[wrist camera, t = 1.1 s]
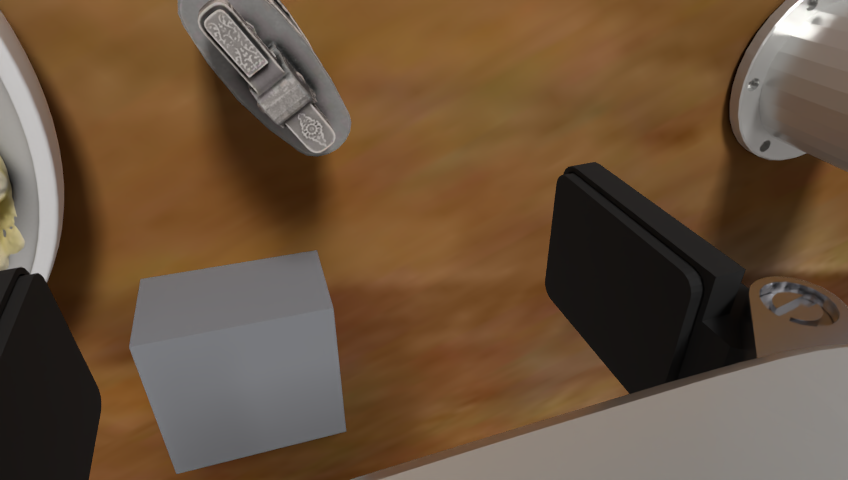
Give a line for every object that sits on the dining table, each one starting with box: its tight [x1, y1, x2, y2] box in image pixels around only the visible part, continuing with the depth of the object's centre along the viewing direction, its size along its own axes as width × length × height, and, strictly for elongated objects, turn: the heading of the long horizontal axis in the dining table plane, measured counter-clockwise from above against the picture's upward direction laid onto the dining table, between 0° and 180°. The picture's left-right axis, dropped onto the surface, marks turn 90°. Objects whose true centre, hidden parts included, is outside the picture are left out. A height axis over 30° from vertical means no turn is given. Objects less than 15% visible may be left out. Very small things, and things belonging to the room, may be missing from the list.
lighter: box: [178, 0, 351, 156], centre depth 23 cm, size 8×3×10 cm, turn 34°
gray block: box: [129, 250, 346, 474], centre depth 34 cm, size 10×10×6 cm
